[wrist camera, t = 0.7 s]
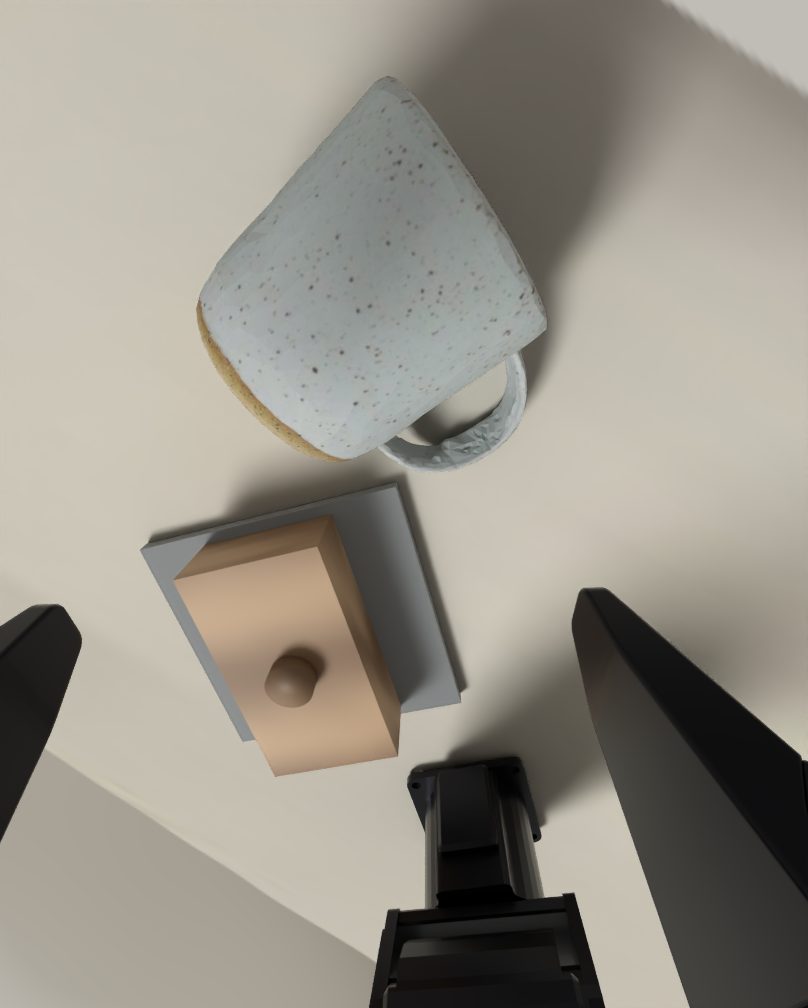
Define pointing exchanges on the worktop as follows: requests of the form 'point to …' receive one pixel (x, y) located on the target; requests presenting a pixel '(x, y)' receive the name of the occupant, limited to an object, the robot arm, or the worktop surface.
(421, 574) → the mat
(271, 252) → the ceramic mug
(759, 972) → the robot arm
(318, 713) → the lid
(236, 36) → the worktop surface
